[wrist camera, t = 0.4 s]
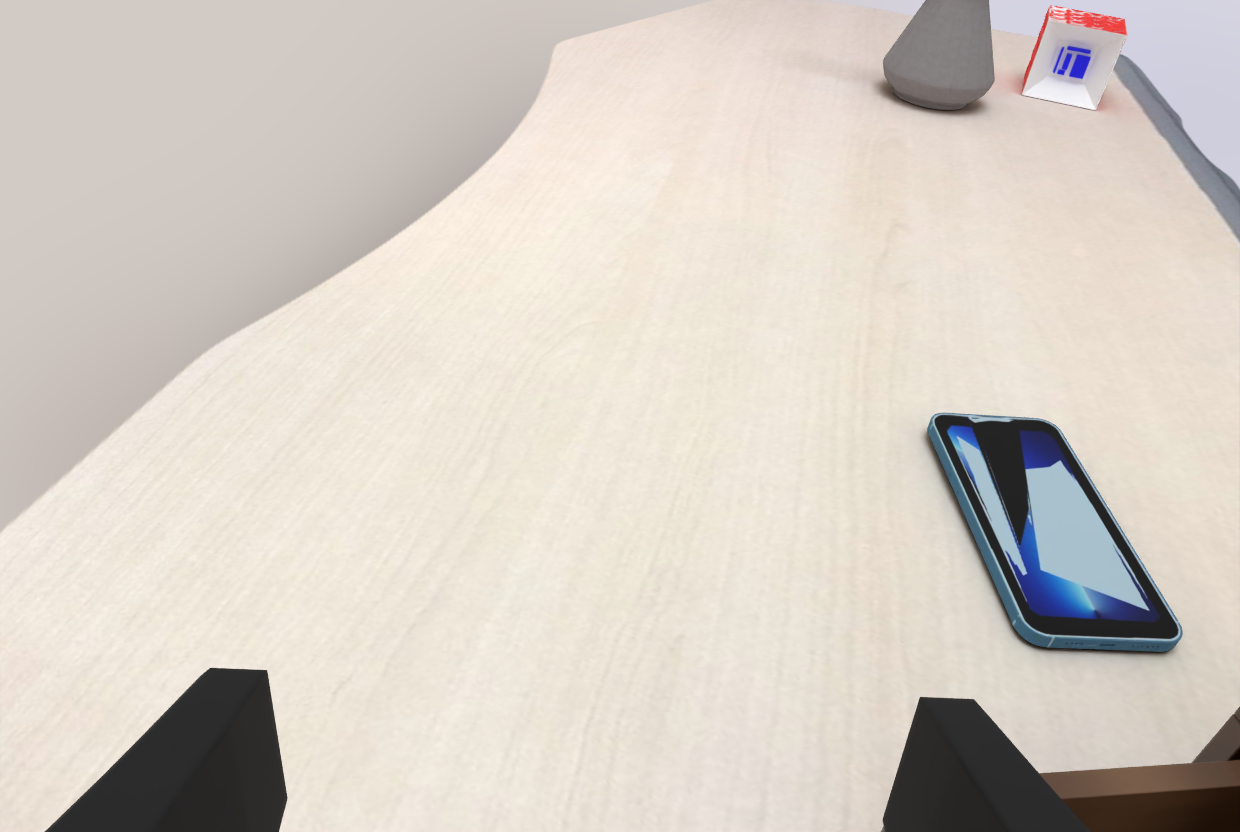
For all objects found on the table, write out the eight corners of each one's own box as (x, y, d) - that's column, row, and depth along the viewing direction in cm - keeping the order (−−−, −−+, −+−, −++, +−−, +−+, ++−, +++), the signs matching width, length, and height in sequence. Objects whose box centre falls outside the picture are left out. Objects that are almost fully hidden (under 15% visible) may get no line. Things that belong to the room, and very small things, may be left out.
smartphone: (1026, 637, 38) (925, 411, 50) (1018, 651, 39) (919, 424, 51) (1193, 643, 39) (1054, 419, 51) (1182, 657, 40) (1048, 432, 51)
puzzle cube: (1095, 90, 106) (1124, 18, 101) (1096, 110, 100) (1127, 35, 95) (1023, 76, 108) (1049, 5, 103) (1020, 94, 102) (1047, 20, 97)
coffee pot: (985, 93, 101) (1036, -57, 92) (983, 125, 92) (1039, -37, 83) (796, 56, 106) (826, -91, 96) (776, 83, 97) (808, -75, 88)
